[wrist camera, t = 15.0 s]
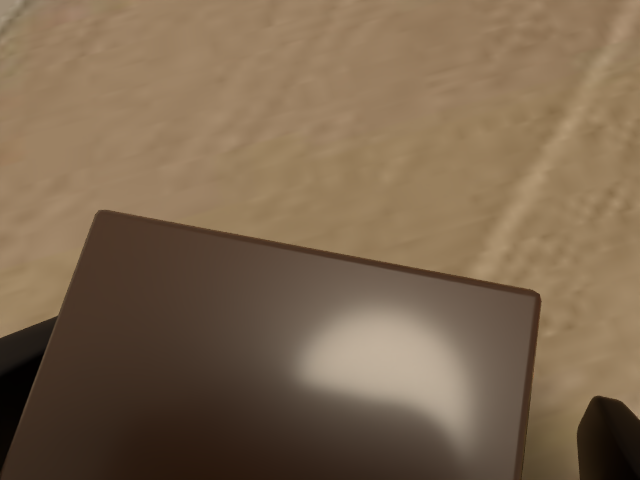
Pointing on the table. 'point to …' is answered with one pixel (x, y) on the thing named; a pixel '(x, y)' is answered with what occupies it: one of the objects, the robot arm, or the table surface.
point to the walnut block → (273, 365)
